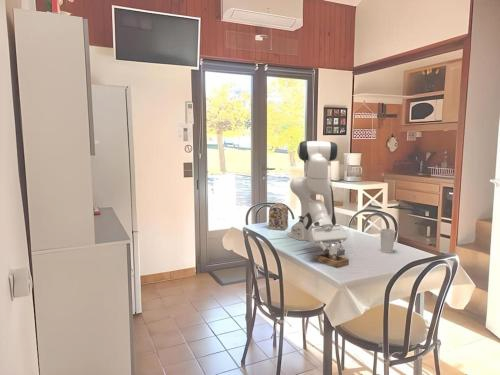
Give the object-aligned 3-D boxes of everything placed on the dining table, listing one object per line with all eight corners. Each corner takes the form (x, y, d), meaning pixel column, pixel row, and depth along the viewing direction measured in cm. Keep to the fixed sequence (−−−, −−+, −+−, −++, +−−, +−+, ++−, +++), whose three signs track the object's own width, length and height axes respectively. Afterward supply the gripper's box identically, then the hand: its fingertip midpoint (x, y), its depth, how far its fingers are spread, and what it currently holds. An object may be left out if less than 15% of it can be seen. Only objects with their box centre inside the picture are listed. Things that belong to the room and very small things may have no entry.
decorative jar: (284, 230, 254) (285, 204, 252) (268, 229, 258) (268, 203, 255) (288, 227, 265) (288, 202, 263) (272, 225, 269) (272, 201, 267)
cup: (376, 251, 208) (377, 230, 207) (383, 248, 214) (384, 228, 212) (390, 254, 203) (391, 232, 201) (396, 251, 208) (398, 230, 207)
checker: (323, 252, 205) (323, 247, 205) (331, 250, 210) (332, 245, 209) (336, 256, 198) (336, 250, 198) (344, 254, 203) (344, 248, 202)
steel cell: (326, 260, 189) (327, 242, 187) (332, 259, 191) (332, 240, 190) (333, 262, 185) (333, 243, 184) (338, 261, 188) (339, 242, 187)
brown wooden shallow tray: (316, 260, 191) (316, 255, 191) (327, 257, 196) (327, 252, 196) (337, 267, 180) (337, 262, 180) (348, 264, 185) (348, 259, 185)
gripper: (338, 227, 200) (348, 250, 193) (304, 230, 194) (313, 254, 186) (343, 221, 196) (354, 244, 188) (309, 223, 189) (318, 247, 181)
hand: (333, 249), depth 187 cm, fingers open, 8 cm apart
